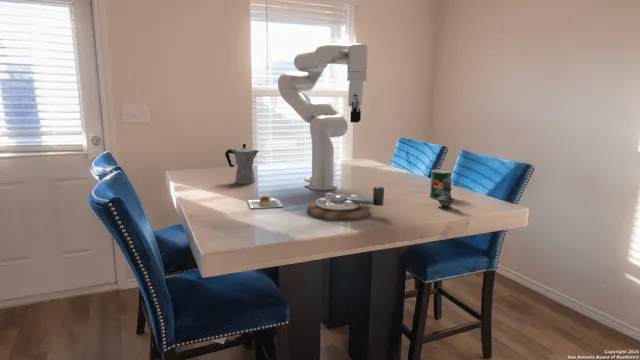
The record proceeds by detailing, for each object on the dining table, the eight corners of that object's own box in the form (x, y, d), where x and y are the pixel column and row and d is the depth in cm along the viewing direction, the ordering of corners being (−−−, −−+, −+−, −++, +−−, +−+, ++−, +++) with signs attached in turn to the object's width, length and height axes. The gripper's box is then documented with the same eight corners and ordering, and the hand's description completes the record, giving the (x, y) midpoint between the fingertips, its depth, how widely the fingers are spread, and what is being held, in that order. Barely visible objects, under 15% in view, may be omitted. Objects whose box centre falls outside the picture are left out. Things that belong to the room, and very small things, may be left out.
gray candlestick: (434, 206, 159) (436, 174, 157) (450, 205, 159) (452, 174, 157) (440, 210, 153) (442, 177, 151) (456, 210, 154) (458, 177, 151)
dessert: (250, 211, 152) (250, 198, 151) (247, 202, 163) (246, 190, 162) (283, 209, 155) (283, 196, 154) (277, 201, 166) (277, 189, 165)
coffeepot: (258, 179, 205) (257, 142, 201) (260, 183, 196) (259, 144, 192) (225, 180, 201) (224, 143, 198) (226, 184, 192) (224, 145, 189)
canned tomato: (444, 195, 177) (446, 169, 175) (453, 199, 169) (455, 172, 167) (426, 195, 176) (428, 169, 174) (434, 200, 168) (436, 172, 166)
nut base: (295, 215, 145) (295, 208, 145) (323, 201, 164) (323, 195, 164) (356, 224, 136) (356, 217, 135) (377, 208, 155) (378, 202, 155)
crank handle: (310, 209, 144) (310, 188, 143) (322, 198, 159) (322, 179, 158) (380, 215, 138) (380, 193, 136) (386, 203, 153) (386, 183, 152)
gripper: (349, 77, 173) (348, 120, 177) (345, 76, 157) (343, 122, 160) (367, 78, 172) (366, 120, 176) (365, 76, 156) (363, 123, 159)
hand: (355, 121), depth 168 cm, fingers open, 9 cm apart
